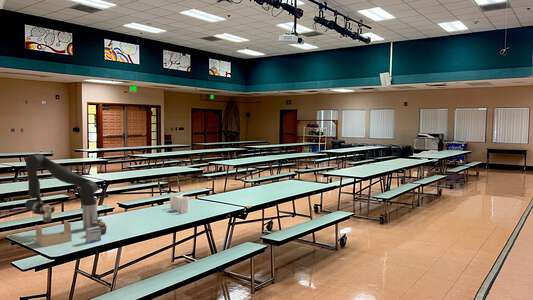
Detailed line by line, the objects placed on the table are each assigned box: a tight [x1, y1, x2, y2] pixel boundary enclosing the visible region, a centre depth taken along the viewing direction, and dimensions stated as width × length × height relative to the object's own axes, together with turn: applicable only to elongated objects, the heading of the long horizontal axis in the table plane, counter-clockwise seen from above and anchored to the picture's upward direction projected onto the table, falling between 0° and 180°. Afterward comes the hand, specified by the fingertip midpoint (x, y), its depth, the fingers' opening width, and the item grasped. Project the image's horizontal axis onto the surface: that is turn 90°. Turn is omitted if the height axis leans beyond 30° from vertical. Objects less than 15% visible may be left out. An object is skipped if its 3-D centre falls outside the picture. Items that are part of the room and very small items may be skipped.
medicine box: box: [84, 226, 102, 244], centre depth 249 cm, size 8×4×9 cm, turn 138°
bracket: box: [169, 193, 190, 214], centre depth 336 cm, size 25×10×12 cm, turn 35°
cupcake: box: [91, 218, 108, 236], centre depth 265 cm, size 10×10×10 cm
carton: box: [31, 219, 73, 248], centre depth 253 cm, size 17×25×11 cm
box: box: [42, 204, 52, 223], centre depth 257 cm, size 4×5×10 cm
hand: (47, 212), depth 256 cm, fingers closed on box, 3 cm apart
